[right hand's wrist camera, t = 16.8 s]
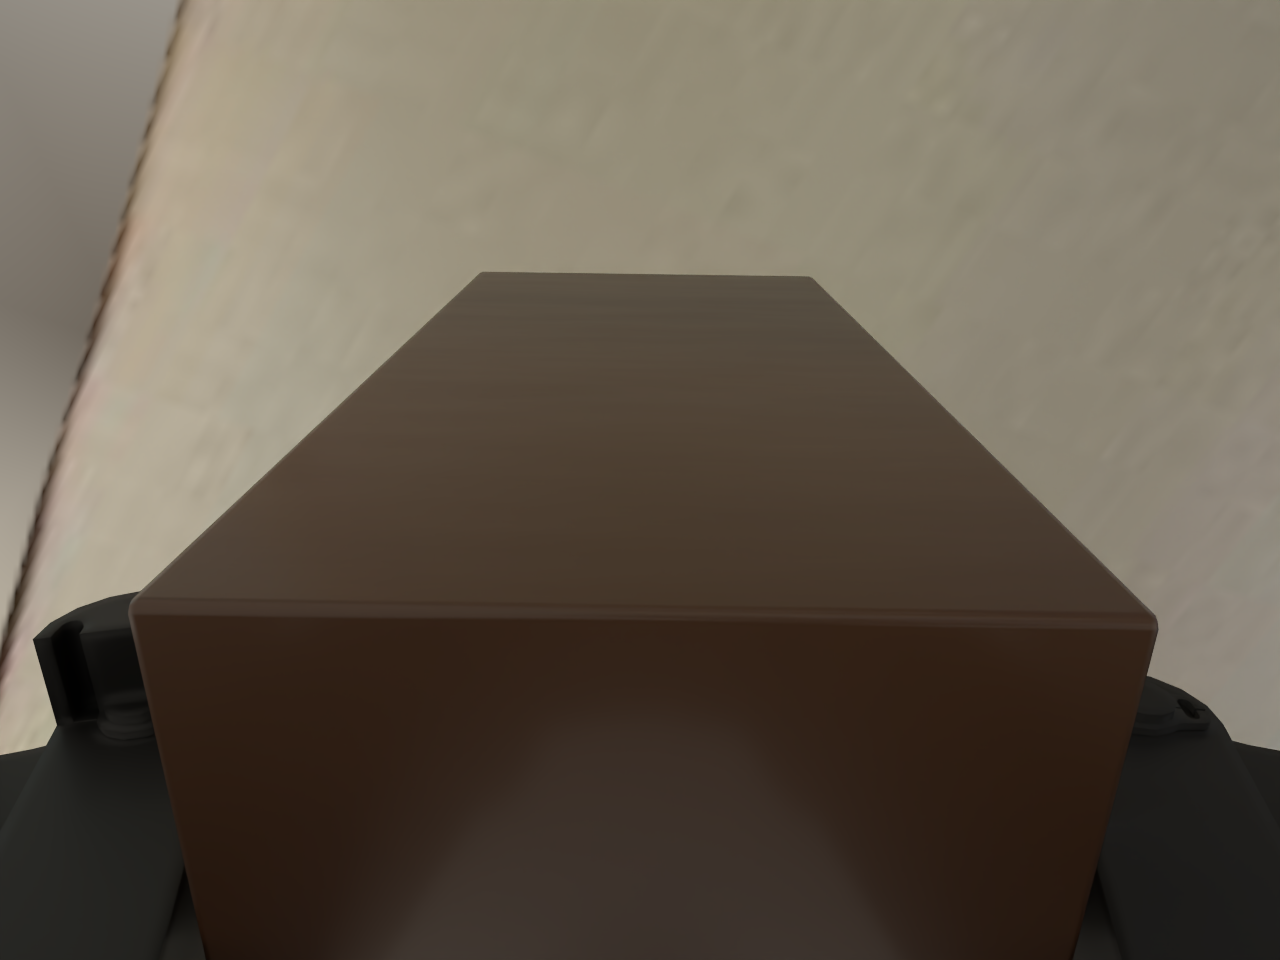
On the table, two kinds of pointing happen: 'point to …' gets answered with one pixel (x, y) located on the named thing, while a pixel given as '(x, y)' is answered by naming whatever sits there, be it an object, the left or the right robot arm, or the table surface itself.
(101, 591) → the table surface
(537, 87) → the table surface
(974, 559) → the plank
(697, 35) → the table surface
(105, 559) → the table surface
